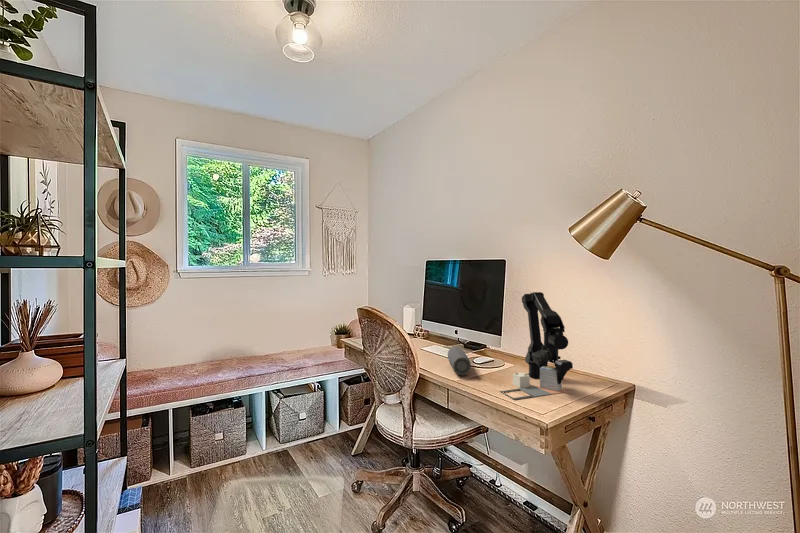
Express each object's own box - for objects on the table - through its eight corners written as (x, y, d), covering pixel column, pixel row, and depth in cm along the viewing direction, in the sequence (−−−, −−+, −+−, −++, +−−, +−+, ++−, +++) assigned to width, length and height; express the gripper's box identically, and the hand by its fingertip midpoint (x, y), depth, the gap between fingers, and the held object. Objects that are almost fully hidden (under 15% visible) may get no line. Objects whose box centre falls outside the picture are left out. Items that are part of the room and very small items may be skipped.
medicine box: (562, 389, 161) (562, 368, 161) (558, 392, 157) (558, 371, 157) (543, 385, 166) (543, 365, 166) (539, 387, 163) (539, 367, 163)
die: (512, 384, 168) (512, 373, 168) (522, 383, 170) (522, 372, 170) (520, 388, 163) (520, 376, 163) (529, 387, 165) (529, 375, 165)
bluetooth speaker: (472, 377, 179) (472, 356, 179) (452, 377, 179) (452, 356, 179) (464, 364, 202) (464, 345, 202) (446, 364, 202) (446, 345, 202)
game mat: (499, 392, 159) (499, 391, 159) (550, 384, 168) (550, 383, 168) (514, 400, 149) (514, 399, 149) (567, 391, 158) (567, 391, 158)
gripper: (521, 341, 167) (521, 376, 168) (551, 350, 150) (551, 389, 150) (541, 339, 171) (541, 373, 172) (573, 348, 154) (573, 386, 154)
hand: (551, 380), depth 162 cm, fingers open, 9 cm apart
